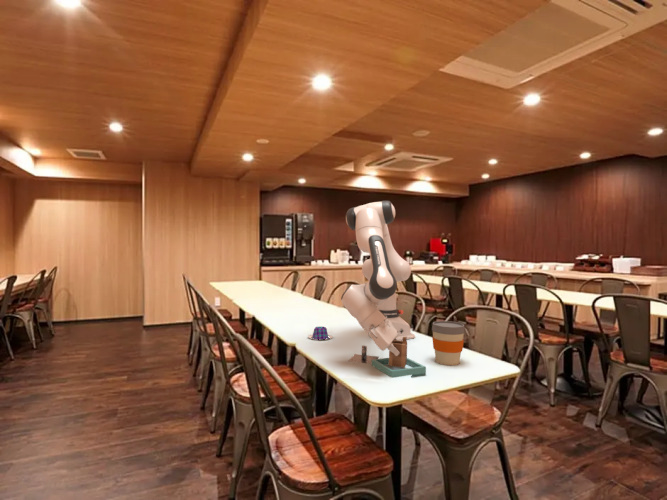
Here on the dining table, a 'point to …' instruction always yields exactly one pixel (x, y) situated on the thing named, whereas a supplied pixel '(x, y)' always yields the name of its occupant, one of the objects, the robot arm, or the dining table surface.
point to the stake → (363, 357)
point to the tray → (415, 371)
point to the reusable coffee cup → (448, 341)
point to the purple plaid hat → (320, 333)
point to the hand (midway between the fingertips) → (399, 351)
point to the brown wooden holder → (402, 357)
